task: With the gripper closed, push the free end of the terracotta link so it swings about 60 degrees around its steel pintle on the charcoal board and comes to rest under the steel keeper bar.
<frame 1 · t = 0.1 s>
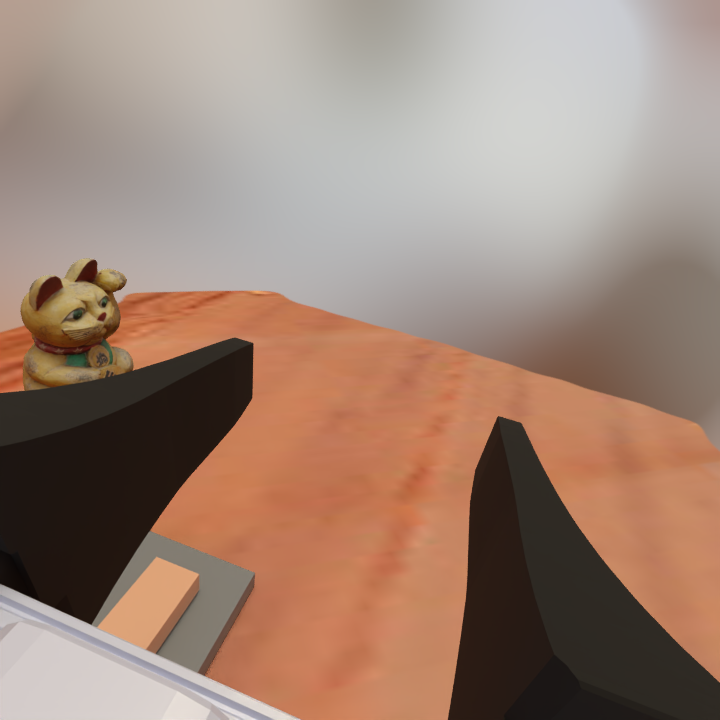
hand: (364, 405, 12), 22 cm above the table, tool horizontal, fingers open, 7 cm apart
link: (68, 696, 19), point 4 cm above the table, hinge at 0.0°
decorative figurine: (82, 410, 42), on the table
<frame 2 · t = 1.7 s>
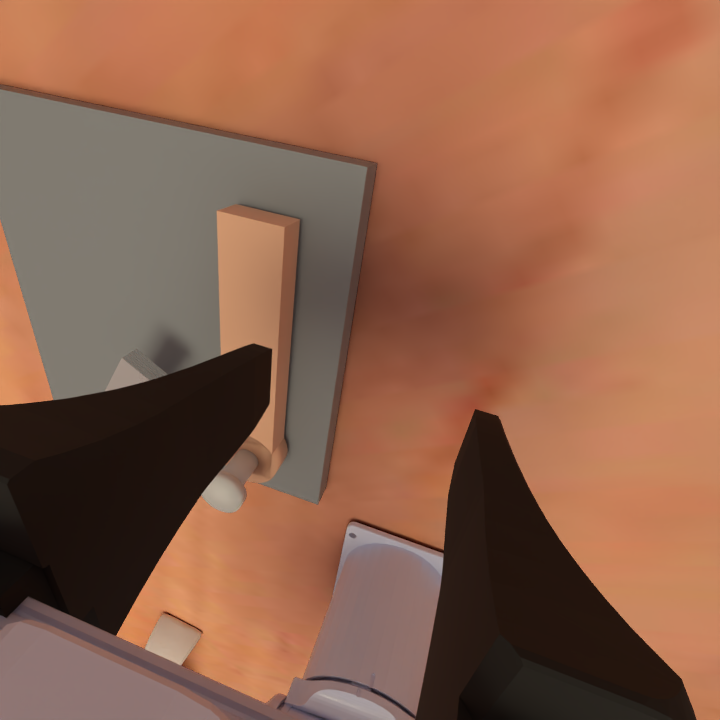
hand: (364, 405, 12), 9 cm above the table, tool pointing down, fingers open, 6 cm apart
spoon rest: (177, 658, 52), on the table
link: (241, 381, 21), point 4 cm above the table, hinge at 0.0°
keeper: (273, 423, 27), resting on board
board: (183, 314, 25), on the table
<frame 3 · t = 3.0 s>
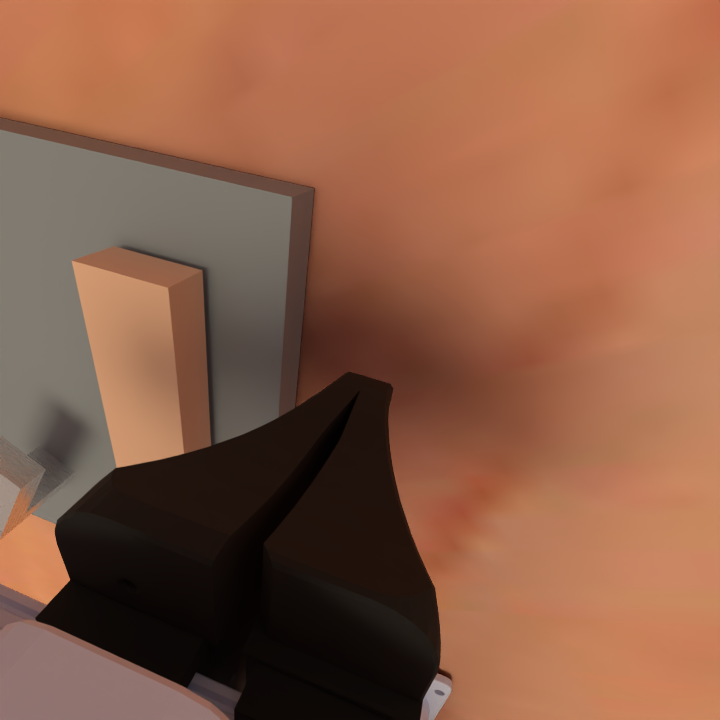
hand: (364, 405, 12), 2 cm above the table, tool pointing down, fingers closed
link: (137, 486, 15), point 4 cm above the table, hinge at 0.0°
keeper: (209, 509, 21), resting on board
board: (84, 376, 19), on the table
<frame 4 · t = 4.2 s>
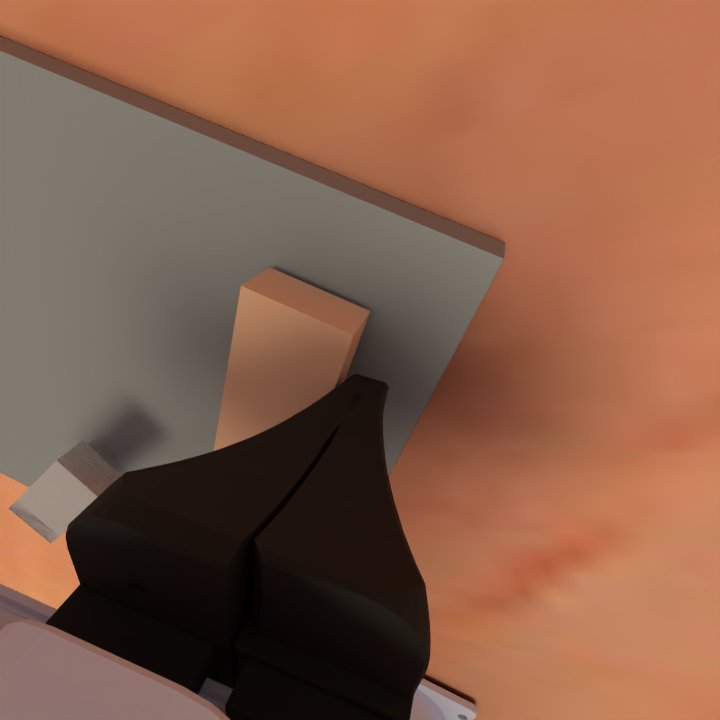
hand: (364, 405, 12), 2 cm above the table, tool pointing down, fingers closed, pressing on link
link: (237, 515, 14), point 4 cm above the table, hinge at 0.0°, touching gripper
keeper: (263, 522, 21), resting on board
board: (158, 375, 18), on the table
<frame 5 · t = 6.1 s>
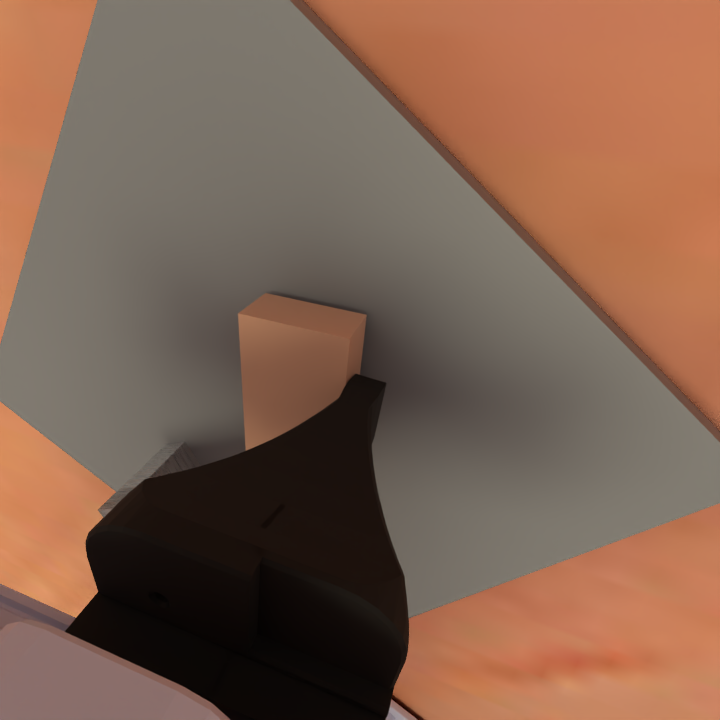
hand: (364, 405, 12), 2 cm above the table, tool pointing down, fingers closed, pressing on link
link: (280, 542, 14), point 4 cm above the table, hinge at 34.4°, touching gripper
keeper: (317, 551, 20), resting on board
board: (288, 402, 16), on the table
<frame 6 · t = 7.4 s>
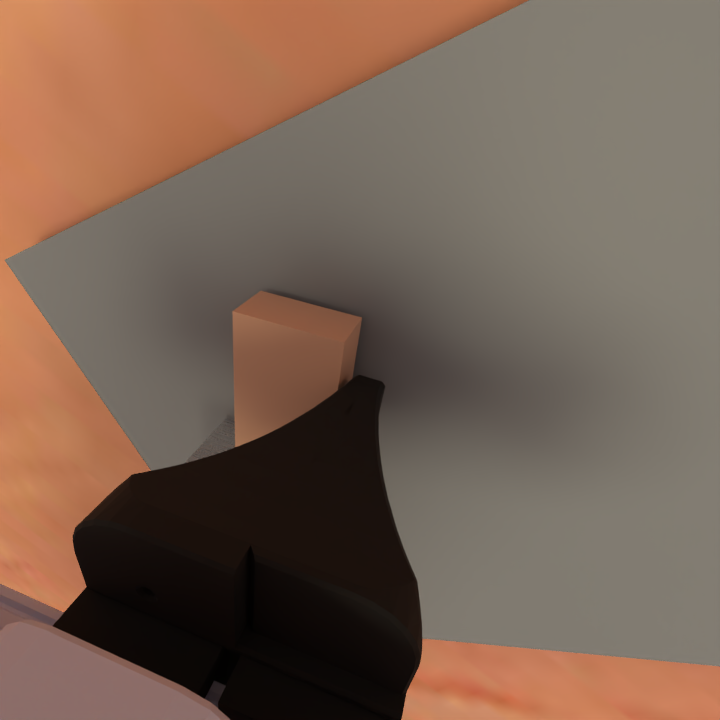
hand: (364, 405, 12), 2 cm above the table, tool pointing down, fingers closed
link: (266, 538, 14), point 4 cm above the table, hinge at 60.4°, touching gripper
keeper: (302, 545, 21), resting on board
board: (374, 431, 16), on the table
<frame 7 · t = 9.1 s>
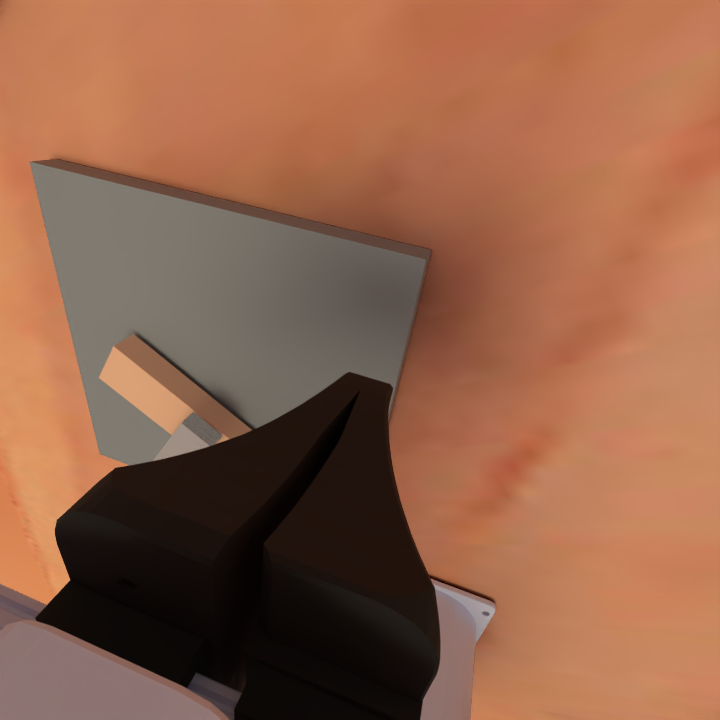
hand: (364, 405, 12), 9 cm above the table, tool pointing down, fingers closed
link: (208, 456, 24), point 4 cm above the table, hinge at 60.6°
keeper: (313, 472, 28), resting on board
board: (230, 371, 26), on the table
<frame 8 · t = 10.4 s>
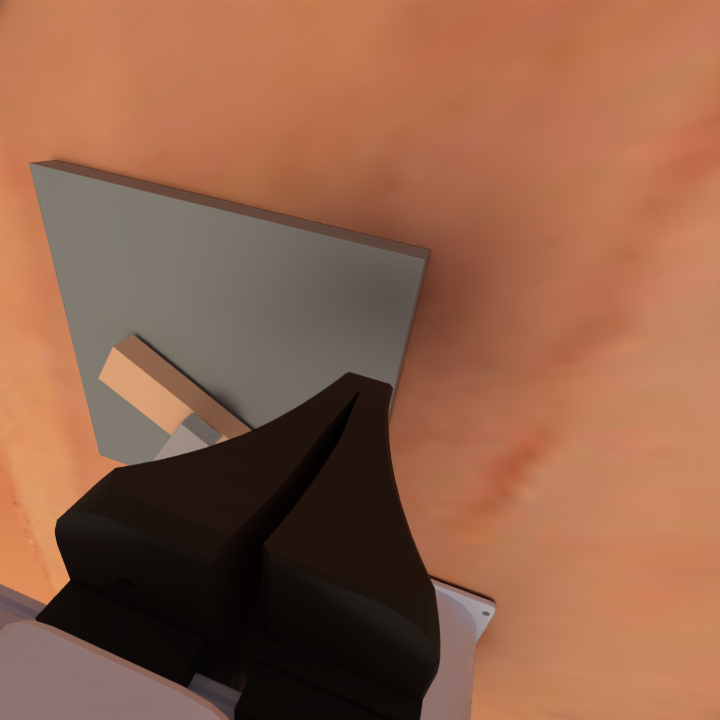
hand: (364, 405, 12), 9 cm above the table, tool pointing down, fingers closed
link: (207, 456, 24), point 4 cm above the table, hinge at 60.6°
keeper: (313, 472, 28), resting on board
board: (230, 371, 26), on the table
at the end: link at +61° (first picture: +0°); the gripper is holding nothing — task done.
